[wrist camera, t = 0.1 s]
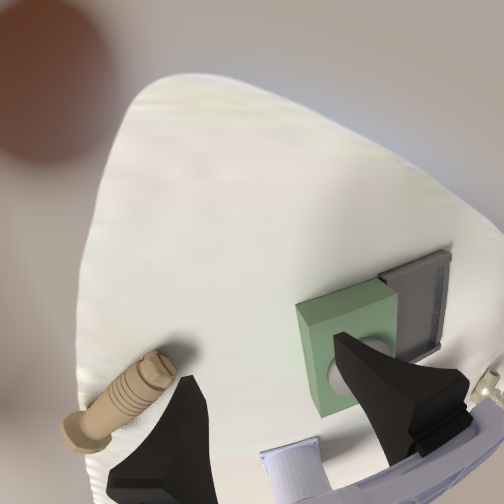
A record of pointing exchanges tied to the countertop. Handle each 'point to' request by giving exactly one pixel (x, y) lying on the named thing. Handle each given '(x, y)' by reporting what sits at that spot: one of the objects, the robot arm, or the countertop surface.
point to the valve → (488, 389)
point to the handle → (118, 404)
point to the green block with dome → (352, 322)
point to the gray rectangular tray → (419, 304)
